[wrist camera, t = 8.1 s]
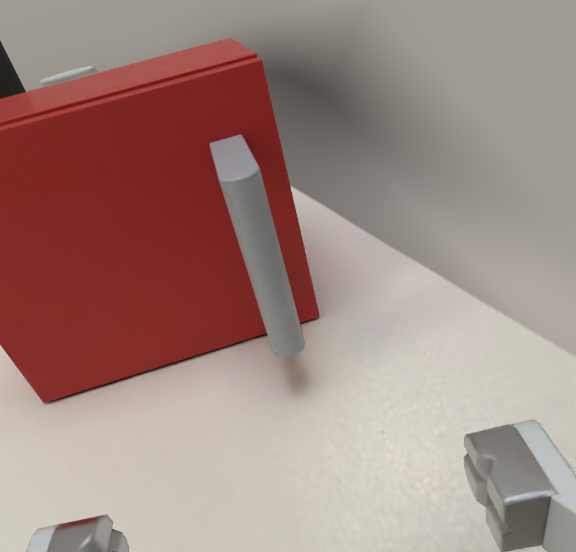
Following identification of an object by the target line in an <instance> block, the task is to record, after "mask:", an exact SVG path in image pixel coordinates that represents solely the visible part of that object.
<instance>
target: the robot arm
mask: <svg viewBox="0 0 576 552" xmlns="http://www.w3.org/2000/svg"><path fill="white" fill-rule="evenodd" d="M464 446H465V448H466V450H467V452H468V453H467V454H466V456H465V457H464V467H465V471H466V475H467V479H468V482H469V484H470V487H471V490H472V492H473V494H474V496H475V498H476V501H478V502H479V503H481V504H482V505H483V506H485V507H486V522H487V524H488V526H489V528H490V530H491V532H492V534H493V536H494V539H495V541H496V543H497V545H498V547H499V549H500V551H501V552H506V551H512V550H517V549H523V548H528V547H534V546H539V545H543V546H542V547H543V548H544V549H545V550H546V551H547V552H576V474H575V473H574V471H573V470H572V468H571V467H570V465H569V464H568V463H567V461H566V460H565V458H564V457H563V456H562V454H561V453H560V451H559V450H558V449H557V447H556V446H555V444H554V443H553V441H552V440H551V439H550V437H549V436H548V434H547V433H546V432H545V430H544V429H543V427H542V426H541V425H540V423H538V422H537V421H535V420H528V421H524V422H519V423H515V424H511V425H509V424H508V425H504V426H500V427H496V428H491V429H487V430H483V431H479V432H475V433H471V434H466V435H465V437H464ZM112 526H113V521H112V520H111V519H110V518H109V516H108V515H107V514H106V515H101V516H96V517H92V518H87V519H82V520H78V521H73V522H68V523H63V524H57V525H53V526H48V527H44V528H40V529H37V531H36V532H35V533H34V535H33V536H32V537H31V539H30V542H29V545H28V547H27V550H26V552H129V546H128V543H127V540H126V538H125V536H124V535H123V534H122V532H119V531H117V530H114V529H112Z"/></svg>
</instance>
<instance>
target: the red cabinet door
mask: <svg viewBox="0 0 576 552" xmlns="http://www.w3.org/2000/svg"><path fill="white" fill-rule="evenodd" d="M317 317H319V312H318V307H317V303H316V298H315V294H314V289H313V285H312V281H311V276H310V272H309V267H308V263H307V258H306V254H305V249H304V245H303V241H302V236H301V232H300V227H299V223H298V218H297V214H296V209H295V205H294V201H293V196H292V192H291V187H290V183H289V178H288V174H287V169H286V165H285V161H284V156H283V152H282V147H281V143H280V138H279V134H278V130H277V125H276V121H275V116H274V112H273V107H272V103H271V99H270V94H269V90H268V85H267V81H266V76H265V72H264V67H263V63H262V60H261V59H260V58H258V57H256V58H252V59H248V60H245V61H241V62H237V63H234V64H230V65H226V66H222V67H219V68H215V69H211V70H208V71H204V72H200V73H196V74H193V75H189V76H185V77H182V78H178V79H174V80H170V81H167V82H163V83H159V84H156V85H152V86H148V87H144V88H141V89H137V90H133V91H130V92H126V93H122V94H118V95H115V96H111V97H107V98H104V99H100V100H96V101H92V102H89V103H85V104H81V105H78V106H74V107H70V108H66V109H63V110H59V111H55V112H52V113H48V114H44V115H40V116H37V117H33V118H29V119H26V120H22V121H18V122H14V123H11V124H7V125H3V126H0V345H1V346H2V348H3V349H4V350H5V352H6V353H7V354H8V356H9V357H10V358H11V360H12V361H13V362H14V364H15V365H16V366H17V368H18V369H19V370H20V372H21V373H22V374H23V376H24V377H25V378H26V380H27V381H28V383H29V384H30V385H31V387H32V388H33V389H34V391H35V392H36V393H37V395H38V396H39V397H40V399H41V400H42V401H43V402H44V403H46V402H49V401H52V400H55V399H59V398H62V397H65V396H68V395H71V394H74V393H78V392H81V391H84V390H87V389H90V388H94V387H97V386H100V385H103V384H106V383H110V382H113V381H116V380H119V379H122V378H125V377H129V376H132V375H135V374H138V373H141V372H145V371H148V370H151V369H154V368H157V367H161V366H164V365H167V364H170V363H173V362H177V361H180V360H183V359H186V358H189V357H192V356H196V355H199V354H202V353H205V352H208V351H212V350H215V349H218V348H221V347H224V346H228V345H231V344H234V343H237V342H240V341H244V340H247V339H250V338H253V337H256V336H259V335H263V334H266V333H267V335H268V338H269V342H270V345H271V348H272V351H273V353H274V354H275V355H276V356H278V357H281V358H289V357H293V356H295V355H297V354H299V353H300V352H301V351H302V350H303V348H304V344H305V342H304V338H303V334H302V330H301V326H300V323H301V322H304V321H307V320H310V319H314V318H317Z"/></svg>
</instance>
